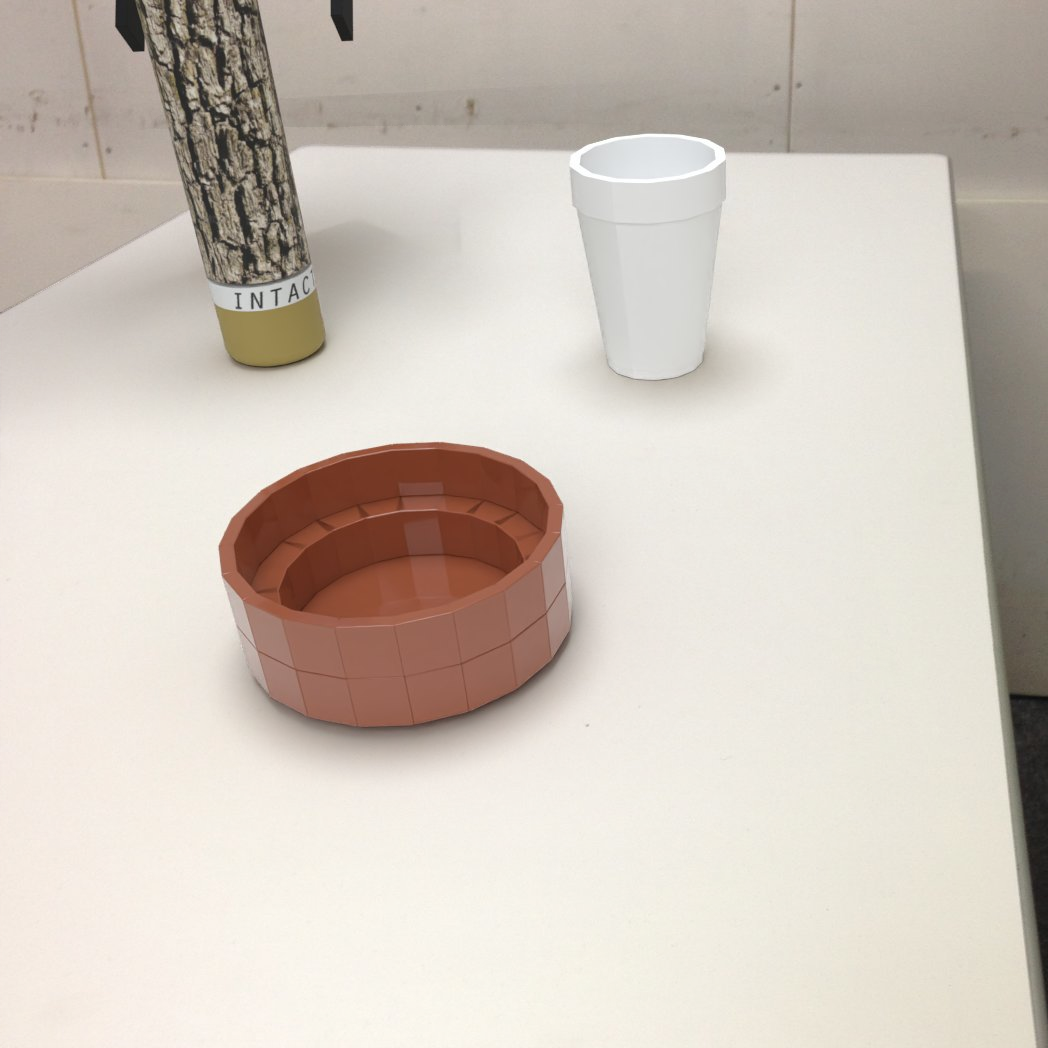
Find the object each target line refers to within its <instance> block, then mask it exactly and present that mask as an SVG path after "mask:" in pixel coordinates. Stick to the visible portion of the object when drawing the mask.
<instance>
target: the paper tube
mask: <svg viewBox="0 0 1048 1048" xmlns="http://www.w3.org/2000/svg"><path fill="white" fill-rule="evenodd" d="M135 1H136V5H137V9H138V13H139V16H140V20H141V24H142V28H143V32H144V36H145V45H146V48H147V52H148V54H149V58H150V62H151V67H152V71H153V74H154V78H155V82H156V86H157V90H158V94H159V97H160V101H161V105H162V109H163V113H164V117H165V121H166V124H167V129H168V132H169V137H170V141H171V143H172V148H173V152H174V156H175V159H176V162H177V167H178V171H179V175H180V179H181V182H182V187H183V191H184V194H185V198H186V202H187V205H188V206H187V207H188V210H189V213H190V218H191V221H192V226H193V229H194V233H195V236H196V241H197V244H198V249H199V253H200V256H201V259H202V263H203V268H204V272H205V275H206V279H207V284H208V287H209V291H210V295H211V300H212V302H213V305H214V310H215V313H216V317H217V320H218V325H219V329H220V332H221V336H222V340H223V344H224V348H225V351H226V352H227V354H228V355H229V356H230V357H231V358H232V359H233V360H235V361H236V362H239V363H240V364H243V365H247V366H252V367H277V366H283V365H287V364H288V365H289V364H291V363H295V362H298V361H301V360H304V359H306V358H308V357H310V356H311V355H313V354H315V352H317V351H318V350H319V349H320V348H321V347H322V345H323V344H324V341H325V339H326V329H325V324H324V320H323V314H322V310H321V305H320V300H319V294H318V290H317V283H316V278H315V274H314V273H315V272H314V268H313V263H312V260H311V254H310V250H309V245H308V240H307V235H306V230H305V223H304V219H303V216H302V210H301V205H300V201H299V196H298V191H297V186H296V182H295V181H296V180H295V176H294V172H293V171H294V170H293V167H292V161H291V156H290V152H289V146H288V142H287V137H286V132H285V127H284V122H283V118H282V113H281V112H282V111H281V107H280V103H279V99H278V98H279V97H278V93H277V89H276V88H277V87H276V83H275V79H274V74H273V70H272V64H271V59H270V55H269V49H268V44H267V39H266V35H265V29H264V25H263V20H262V15H261V11H260V5H259V1H258V0H135Z"/></svg>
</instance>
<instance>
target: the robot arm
mask: <svg viewBox="0 0 1048 1048" xmlns="http://www.w3.org/2000/svg"><path fill="white" fill-rule="evenodd" d="M329 2H330V3H329V4H330V18H331V21H332V23H333V25H334V28H335V29H336V32H337V34H338V36H339V38H340V41H341V42H353V41H354V0H330V1H329ZM114 11H115V12H114V14H115V15H114V27H115V29H116V30H117V31H118V34H120V36H121V37H122V39H123V40H124V41H125V43H126V44H127V46H128V47H129V49H130V50H131V51H132V52H133V53H139V52H141V53H143V52H146V50H145V49H146V48H145V47H146V40H145V36H144V32H143V28H142V24H141V20H140V16H139V13H138V9H137V5H136V1H135V0H115V8H114Z"/></svg>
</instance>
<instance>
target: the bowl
mask: <svg viewBox="0 0 1048 1048" xmlns="http://www.w3.org/2000/svg"><path fill="white" fill-rule="evenodd" d="M566 528H567V526H566V517H565V506H564V504H563V501H562V500H561V497H560V496H559V494H558V492H557V491H556V488H555V486H554V485H553V483H552V481H551V480H550V479H549V477H547V476H545V475H544V474H543V473H541V472H540V471H538V470H537V469H535V468H534V467H533V466H531V465H530V464H528V462H525V461H524V460H522V459H520V458H517V457H514V456H511V455H508V454H505V453H502V452H499V451H497V450H493V449H491V448H488V447H485V446H477V445H471V444H470V445H469V444H461V443H452V442H444V441H429V442H404V443H401V442H400V443H389V444H384V445H379V446H375V447H374V446H373V447H367V448H363V449H358V450H353V451H347V452H344V453H343V452H342V453H339V454H337V455H333V456H331V457H328V458H325V459H322V460H319V461H317V462H314V463H311V464H308V465H305V466H303V467H300V468H298V469H296V470H294V471H292V472H290V473H289V474H287V475H285V476H283V477H282V478H280V479H278V480H276V481H274V482H272V483H271V484H269V485H267V486H266V487H264V488H262V489H261V490H260V491H258V492H257V493H256V494H255V495H254V496H253V497H252V498H251V499H250V500H249V501H248V502H246V503H245V505H244V506H243V507H241V508H240V509H239V510H238V511H237V512H236V513H235V514H234V515H233V516H232V517H230V520H229V523H228V525H227V526H226V529H225V531H224V533H223V535H222V537H221V539H220V541H219V544H218V546H217V547H218V548H217V549H218V557H219V566H220V576H221V578H222V579H221V580H222V582H223V585H224V588H225V589H224V590H225V592H226V595H227V599H228V602H229V603H228V604H229V605H230V608H231V613H232V616H233V619H234V623H235V626H236V629H237V632H238V637H239V640H240V643H241V646H242V650H243V653H244V657H245V661H246V663H247V666H248V669H249V672H250V673H251V674H252V676H253V677H254V678H255V680H256V681H257V682H258V684H260V687H262V688H263V690H264V691H265V692H266V694H267V695H268V696H269V698H271V699H273V700H274V701H276V702H278V703H280V704H283V705H284V706H286V707H288V708H290V709H292V710H294V712H298V713H299V714H301V715H303V716H305V717H307V718H311V719H316V720H320V721H326V722H332V723H337V724H342V725H347V726H353V727H358V728H371V727H401V726H414V725H420V724H424V723H428V722H432V721H436V720H441V719H445V718H448V717H449V718H450V717H453V716H458V715H462V714H465V713H469V712H471V711H474V710H476V709H478V708H480V707H482V706H484V705H486V704H489V703H491V702H493V701H495V700H497V699H499V698H501V697H504V696H505V695H507V694H510V693H512V692H514V691H516V690H517V689H519V688H520V687H521V686H523V685H524V684H525V683H526V682H527V681H529V679H531V678H532V677H534V675H536V674H537V673H538V672H539V671H540V670H542V669H543V668H544V667H545V666H546V665H548V664H549V663H550V662H551V661H552V660H553V659H554V657H555V655H556V654H557V652H558V650H559V649H560V647H561V645H562V643H563V642H564V640H565V638H566V637H567V635H568V633H570V629H571V624H572V611H573V591H572V581H571V569H570V561H569V560H570V559H569V549H568V539H567V529H566Z"/></svg>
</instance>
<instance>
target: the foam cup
mask: <svg viewBox="0 0 1048 1048" xmlns="http://www.w3.org/2000/svg"><path fill="white" fill-rule="evenodd" d="M725 151H726V150H725V148H724V147H722V146H720V145H719V144H717V143H715V142H713V141H711V140H709V139H707V138H702V137H701V138H700V137H696V136H691V135H684V134H680V133H679V134H676V133H675V134H673V133H642V134H632V135H624V136H615V137H611V138H608V139H604V140H600V141H597V142H593V143H589V144H586V145H585V146H583V147H581V148H580V149H578V150H577V151H575V152H574V153H572V154H571V155H570V159H569V167H568V168H569V177H570V179H569V181H570V192H571V193H570V194H571V205H572V207H573V208H575V209H576V214H577V219H578V225H579V229H580V234H581V239H582V244H583V248H584V249H583V250H584V253H585V258H586V263H587V268H588V274H589V279H590V284H591V288H592V294H593V298H594V303H595V308H596V314H597V318H598V322H599V329H600V332H601V337H602V342H603V343H602V344H603V348H604V353H605V356H606V358H607V365H608V367H610V368H611V369H612V370H613V371H614V372H615V373H616V374H618V375H621V376H623V377H627V378H631V379H633V380H646V381H647V380H648V381H660V380H667V379H675V378H679V377H681V376H683V375H687V374H689V373H691V372H694V371H695V370H696V369H697V368H698V367H699V366H700V365H701V364H702V363H703V361H704V360H703V359H704V357H703V356H704V355H703V354H704V353H705V347H706V341H707V340H706V339H707V332H708V323H709V314H710V307H711V306H710V305H711V299H712V298H711V297H712V289H713V281H714V274H715V265H716V257H717V250H718V249H717V248H718V240H719V234H720V226H721V225H720V224H721V218H722V217H721V215H722V207H723V202H725V200H727V157H726V152H725Z"/></svg>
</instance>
